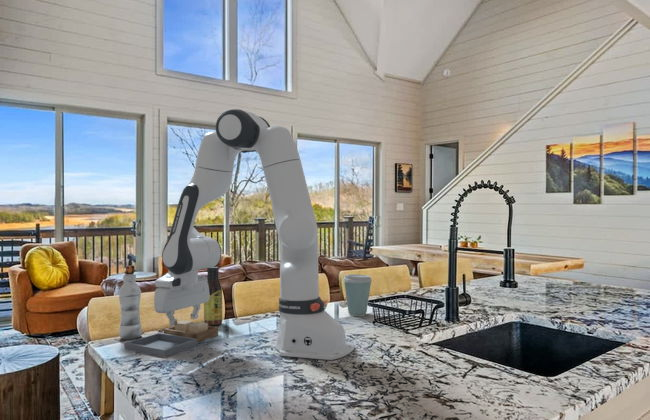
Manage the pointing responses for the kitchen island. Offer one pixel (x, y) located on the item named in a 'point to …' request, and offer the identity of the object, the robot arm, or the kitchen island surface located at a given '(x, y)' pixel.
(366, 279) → the disposable coffee cup
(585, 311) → the kitchen island surface
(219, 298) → the sauce bottle
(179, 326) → the beige cube
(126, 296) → the plastic bottle
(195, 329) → the cream matte cube
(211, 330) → the brown rectangular tray
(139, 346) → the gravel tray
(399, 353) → the kitchen island surface
